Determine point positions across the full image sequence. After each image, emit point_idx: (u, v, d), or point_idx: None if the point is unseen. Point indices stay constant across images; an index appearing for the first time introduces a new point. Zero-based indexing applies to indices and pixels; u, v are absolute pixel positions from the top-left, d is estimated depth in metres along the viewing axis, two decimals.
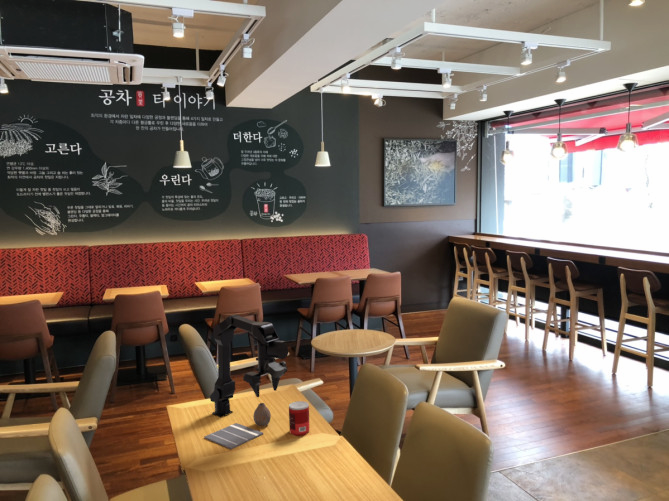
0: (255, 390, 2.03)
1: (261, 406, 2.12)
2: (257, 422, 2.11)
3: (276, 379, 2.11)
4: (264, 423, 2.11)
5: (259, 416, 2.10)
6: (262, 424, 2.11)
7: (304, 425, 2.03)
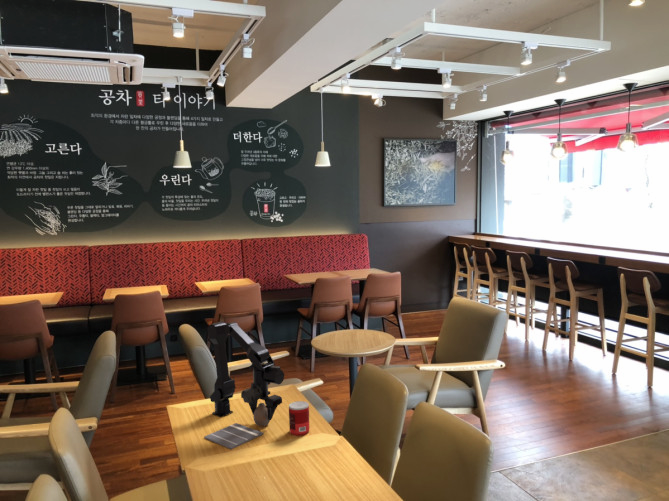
0: None
1: (261, 406, 2.12)
2: (257, 422, 2.11)
3: None
4: (264, 423, 2.11)
5: (259, 416, 2.10)
6: (262, 424, 2.11)
7: (304, 425, 2.03)
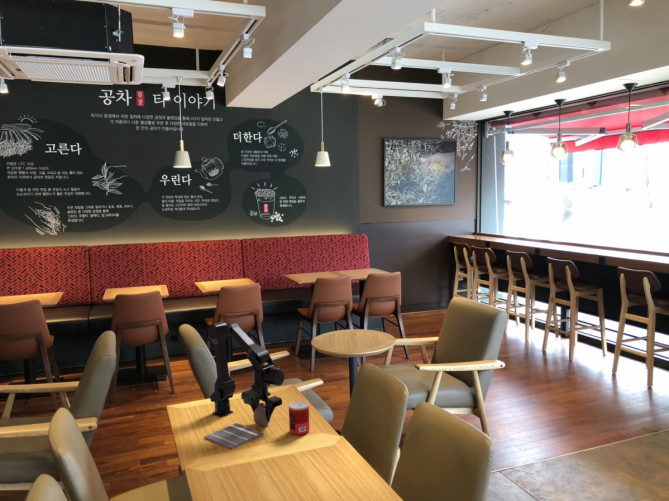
0: None
1: (261, 406, 2.12)
2: (257, 422, 2.11)
3: None
4: (264, 423, 2.11)
5: (259, 416, 2.10)
6: (262, 424, 2.11)
7: (304, 425, 2.03)
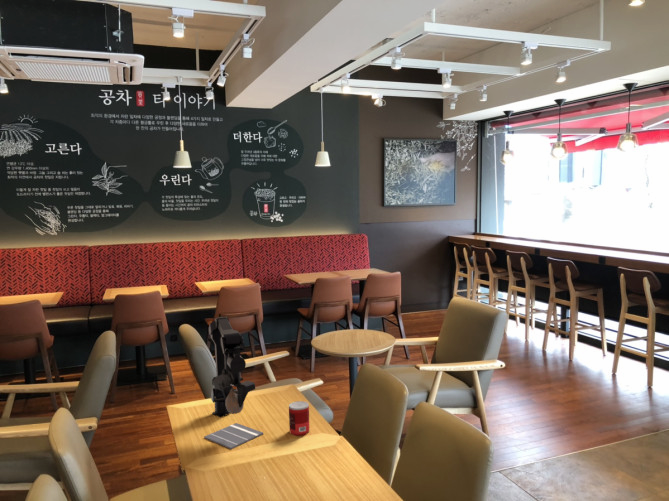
0: None
1: (233, 392, 2.00)
2: (229, 409, 1.99)
3: None
4: (237, 410, 1.99)
5: (231, 402, 1.98)
6: (234, 411, 1.99)
7: (304, 425, 2.03)
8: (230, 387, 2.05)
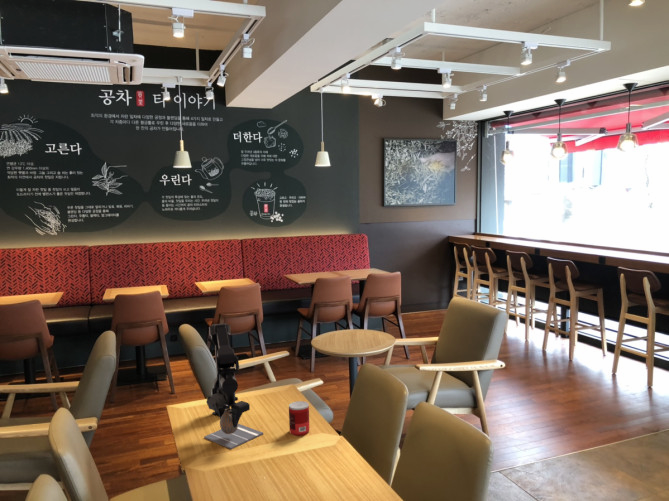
0: None
1: (227, 412, 1.99)
2: (223, 429, 1.98)
3: None
4: (231, 430, 1.98)
5: (225, 422, 1.97)
6: (229, 431, 1.98)
7: (304, 425, 2.03)
8: (225, 406, 2.04)
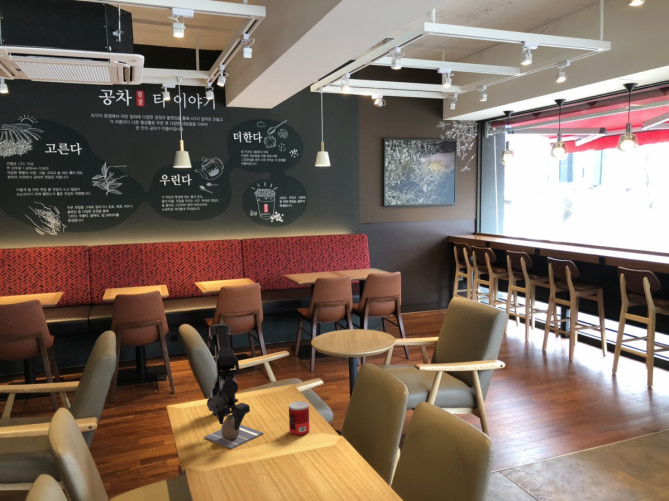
0: None
1: (229, 418, 1.98)
2: (224, 435, 1.97)
3: None
4: (232, 436, 1.97)
5: (227, 429, 1.97)
6: (230, 438, 1.97)
7: (304, 425, 2.03)
8: (223, 407, 2.05)
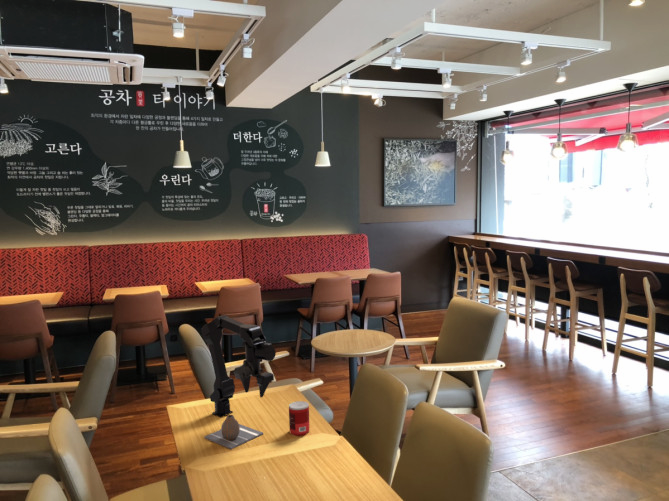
0: None
1: (229, 418, 1.98)
2: (224, 435, 1.97)
3: None
4: (232, 437, 1.97)
5: (227, 429, 1.97)
6: (230, 438, 1.97)
7: (304, 425, 2.03)
8: (249, 377, 2.18)
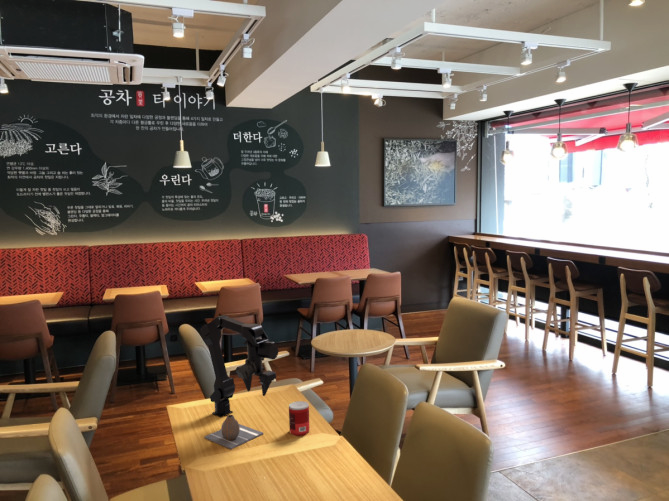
0: None
1: (229, 418, 1.98)
2: (224, 435, 1.97)
3: None
4: (232, 436, 1.97)
5: (227, 429, 1.97)
6: (230, 438, 1.97)
7: (304, 425, 2.03)
8: (251, 376, 2.19)
